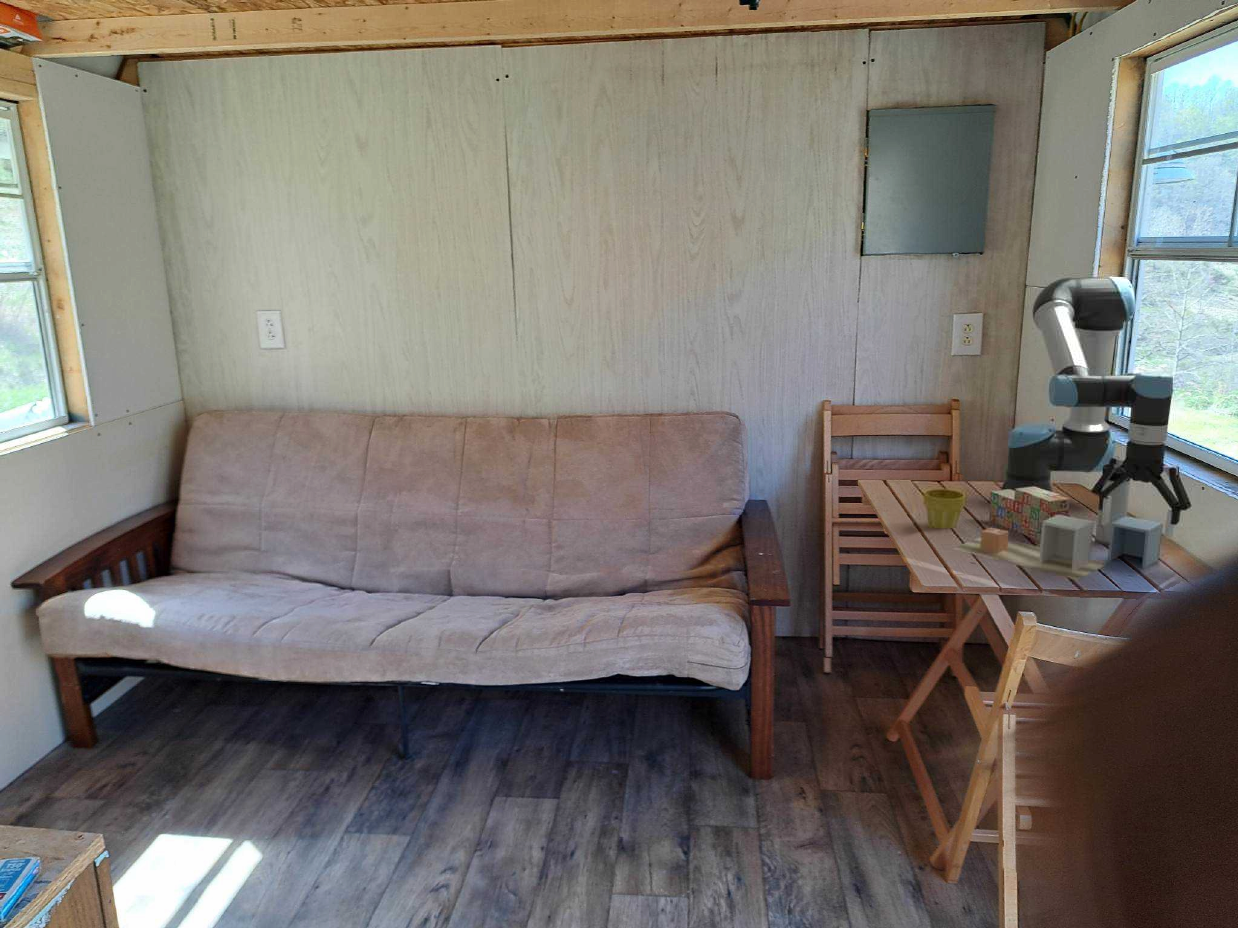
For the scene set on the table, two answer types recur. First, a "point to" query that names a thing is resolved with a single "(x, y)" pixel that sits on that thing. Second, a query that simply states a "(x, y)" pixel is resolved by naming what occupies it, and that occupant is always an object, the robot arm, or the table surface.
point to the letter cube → (994, 540)
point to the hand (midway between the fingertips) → (1135, 530)
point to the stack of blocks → (1026, 509)
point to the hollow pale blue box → (1135, 539)
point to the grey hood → (1066, 540)
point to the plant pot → (943, 507)
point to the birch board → (1032, 559)
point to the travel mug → (1113, 505)
